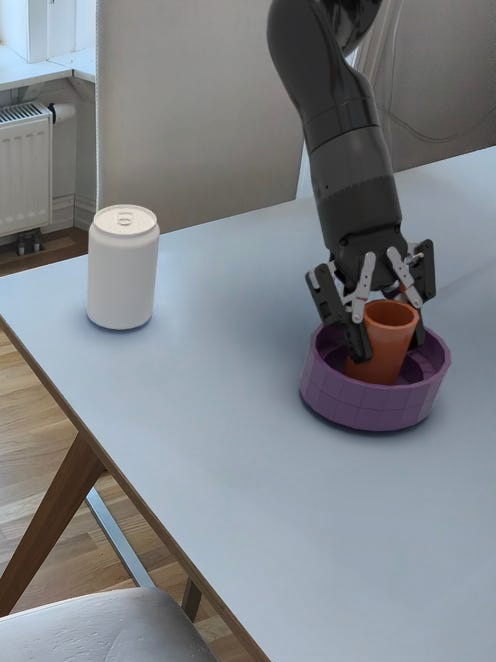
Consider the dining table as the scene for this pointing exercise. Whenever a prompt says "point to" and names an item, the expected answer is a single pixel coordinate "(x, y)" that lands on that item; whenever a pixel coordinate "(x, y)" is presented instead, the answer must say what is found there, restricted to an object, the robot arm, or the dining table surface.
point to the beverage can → (122, 266)
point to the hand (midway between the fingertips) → (389, 355)
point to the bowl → (372, 399)
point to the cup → (384, 341)
